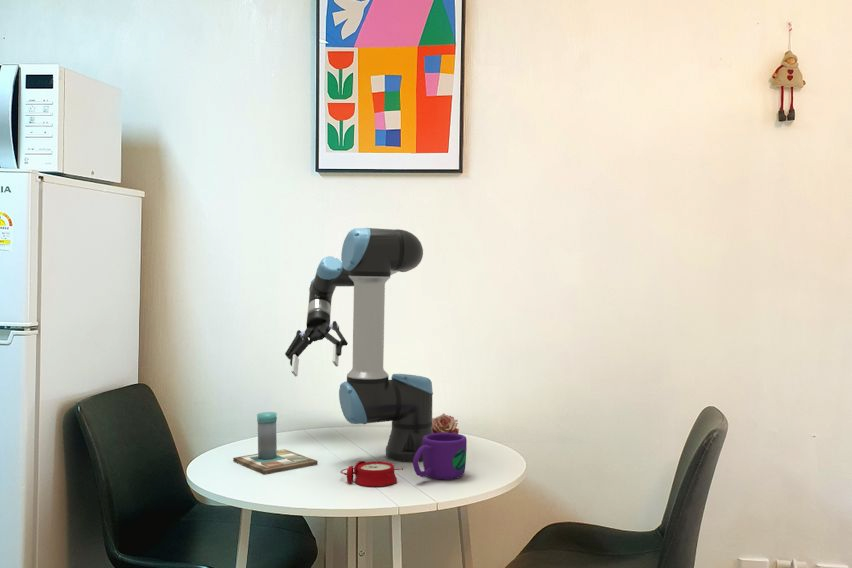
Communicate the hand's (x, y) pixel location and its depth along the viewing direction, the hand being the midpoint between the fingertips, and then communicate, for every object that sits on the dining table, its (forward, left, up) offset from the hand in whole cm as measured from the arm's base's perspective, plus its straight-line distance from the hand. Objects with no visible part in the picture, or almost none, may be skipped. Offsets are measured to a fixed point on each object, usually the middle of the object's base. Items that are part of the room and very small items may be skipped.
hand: (314, 369), depth 215 cm
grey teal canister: (-10, +21, -22) cm, 32 cm away
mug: (-51, -4, -24) cm, 56 cm away
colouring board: (-11, +20, -23) cm, 32 cm away
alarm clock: (-42, +10, -24) cm, 50 cm away
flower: (-21, -34, -24) cm, 47 cm away
